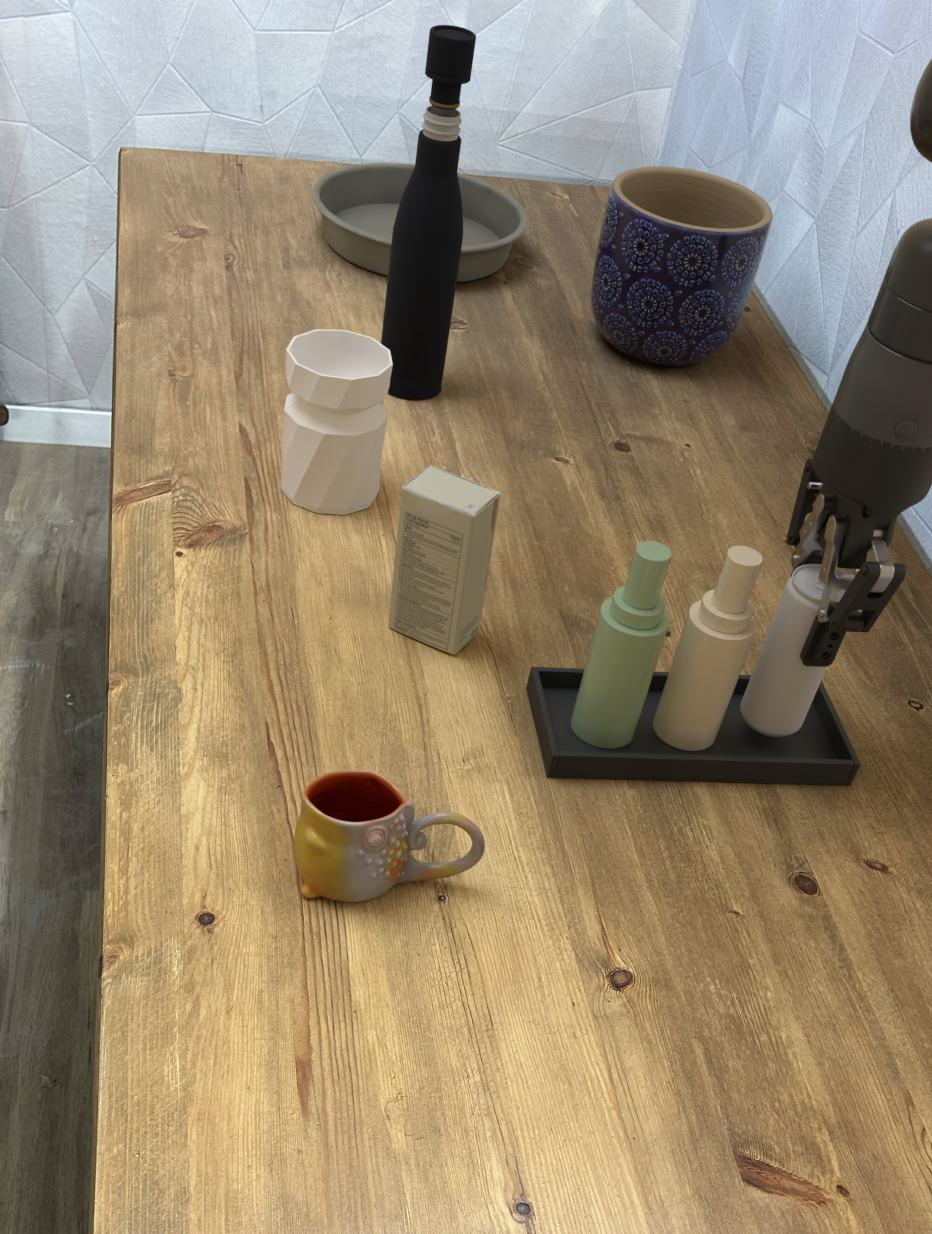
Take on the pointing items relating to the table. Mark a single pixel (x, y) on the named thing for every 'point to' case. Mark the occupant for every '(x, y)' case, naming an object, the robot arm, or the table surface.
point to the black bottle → (429, 228)
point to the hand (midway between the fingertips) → (803, 638)
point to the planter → (676, 262)
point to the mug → (367, 838)
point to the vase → (334, 420)
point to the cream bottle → (710, 656)
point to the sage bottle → (624, 653)
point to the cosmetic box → (442, 558)
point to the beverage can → (786, 660)
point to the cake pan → (368, 206)
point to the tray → (731, 758)
